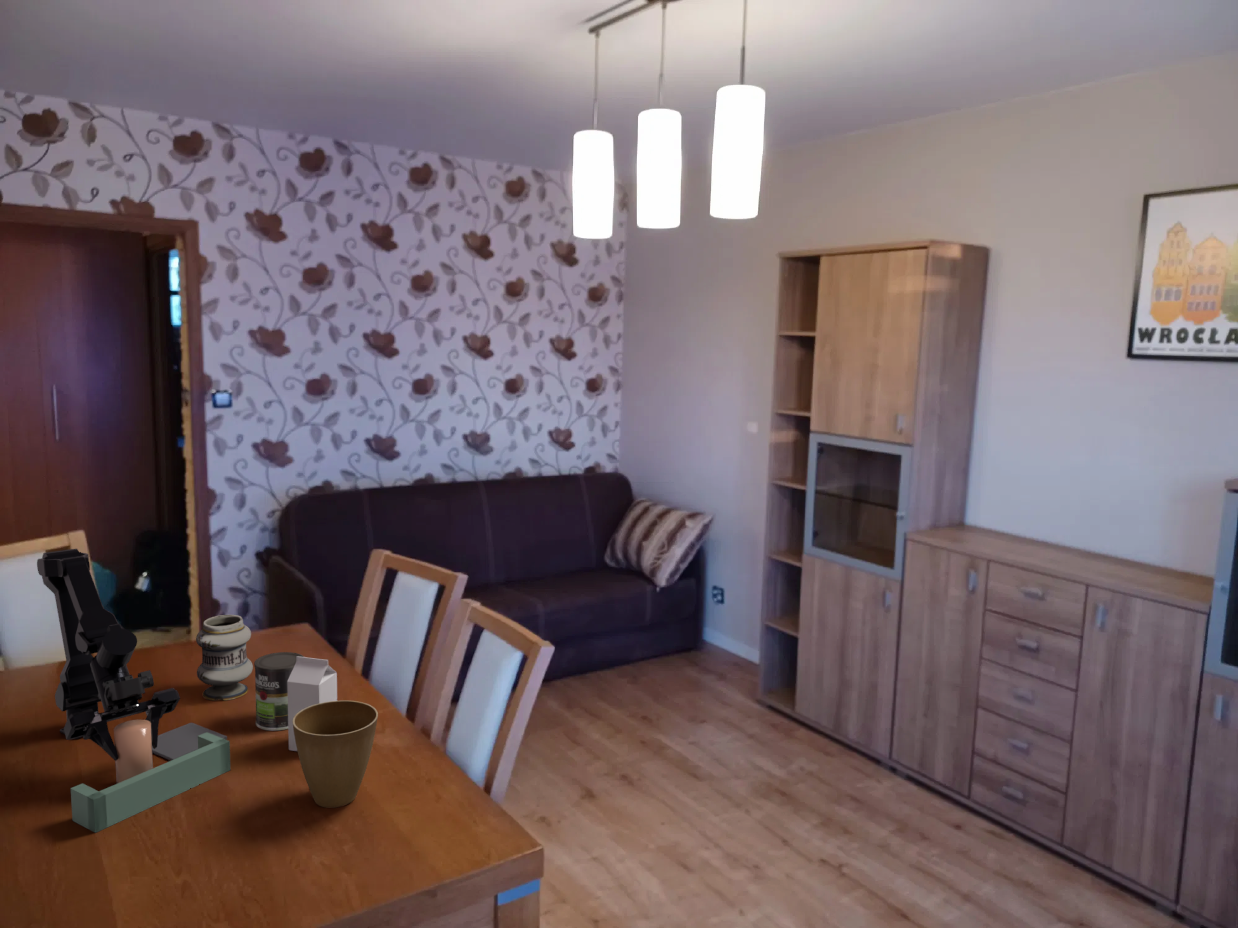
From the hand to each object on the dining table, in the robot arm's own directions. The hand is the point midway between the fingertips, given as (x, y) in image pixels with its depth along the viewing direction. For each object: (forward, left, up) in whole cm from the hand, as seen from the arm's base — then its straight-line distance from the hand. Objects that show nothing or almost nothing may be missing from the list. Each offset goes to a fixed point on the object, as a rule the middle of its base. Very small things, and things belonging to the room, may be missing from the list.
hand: (136, 753), depth 161 cm
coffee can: (-1, +33, -7) cm, 34 cm away
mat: (-9, +15, -7) cm, 19 cm away
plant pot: (+34, +17, -7) cm, 38 cm away
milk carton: (+14, +29, -7) cm, 33 cm away
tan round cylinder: (-1, 0, -7) cm, 7 cm away
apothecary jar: (-24, +36, -7) cm, 44 cm away
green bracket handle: (+5, 0, -7) cm, 8 cm away
